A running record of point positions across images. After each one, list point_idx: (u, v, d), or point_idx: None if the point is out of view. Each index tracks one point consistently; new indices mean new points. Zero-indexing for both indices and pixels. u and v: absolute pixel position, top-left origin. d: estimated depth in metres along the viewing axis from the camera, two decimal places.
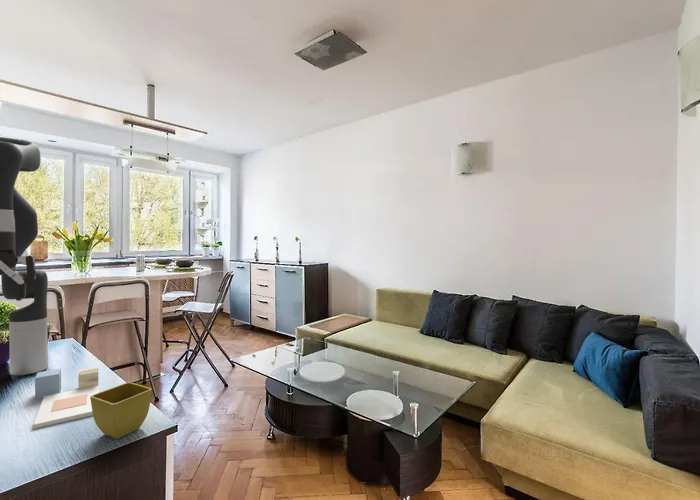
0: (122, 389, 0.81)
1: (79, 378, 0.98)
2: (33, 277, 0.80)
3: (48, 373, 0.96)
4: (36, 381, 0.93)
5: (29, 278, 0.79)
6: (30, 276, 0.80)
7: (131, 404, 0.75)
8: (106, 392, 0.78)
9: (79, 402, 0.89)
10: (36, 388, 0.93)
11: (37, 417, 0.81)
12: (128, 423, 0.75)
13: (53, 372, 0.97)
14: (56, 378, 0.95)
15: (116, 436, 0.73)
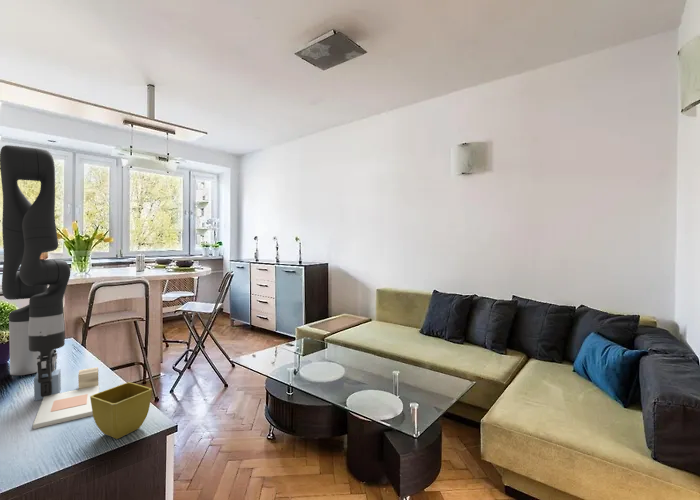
0: (122, 389, 0.81)
1: (79, 378, 0.98)
2: (55, 367, 1.01)
3: (47, 374, 0.95)
4: (35, 382, 0.92)
5: (55, 368, 1.00)
6: None
7: (131, 404, 0.75)
8: (106, 392, 0.78)
9: (79, 402, 0.89)
10: (35, 389, 0.92)
11: (37, 417, 0.81)
12: (128, 423, 0.75)
13: (52, 373, 0.96)
14: (56, 378, 0.94)
15: (116, 436, 0.73)
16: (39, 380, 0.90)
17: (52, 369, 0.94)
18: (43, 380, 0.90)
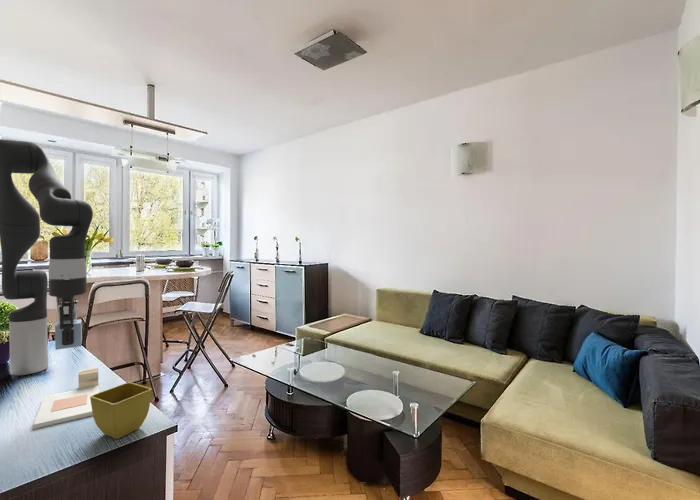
0: (122, 389, 0.81)
1: (79, 378, 0.98)
2: None
3: (69, 322, 0.88)
4: (56, 329, 0.85)
5: None
6: None
7: (131, 404, 0.75)
8: (106, 392, 0.78)
9: (79, 402, 0.89)
10: (56, 337, 0.85)
11: (37, 417, 0.81)
12: (128, 423, 0.75)
13: (74, 322, 0.89)
14: (78, 327, 0.88)
15: (116, 436, 0.73)
16: (61, 326, 0.83)
17: (74, 316, 0.87)
18: (65, 327, 0.84)
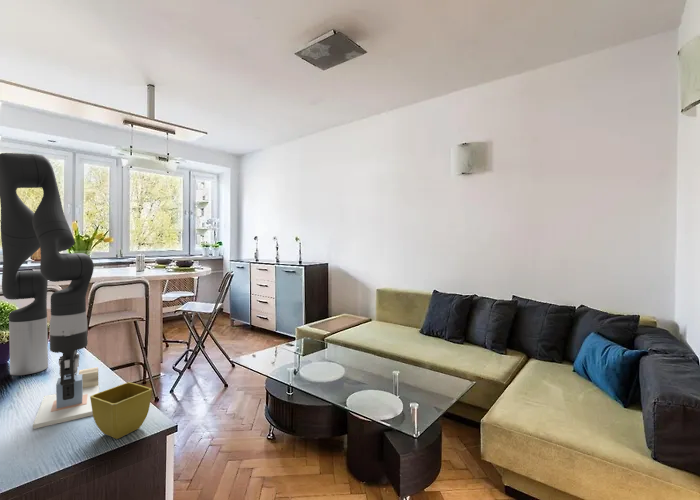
0: (122, 389, 0.81)
1: None
2: None
3: None
4: (57, 388, 0.85)
5: None
6: None
7: (131, 404, 0.75)
8: (106, 392, 0.78)
9: None
10: (57, 396, 0.85)
11: (37, 417, 0.81)
12: (128, 423, 0.75)
13: (75, 378, 0.89)
14: (79, 384, 0.88)
15: (116, 436, 0.73)
16: (61, 382, 0.82)
17: (75, 370, 0.86)
18: (66, 382, 0.83)
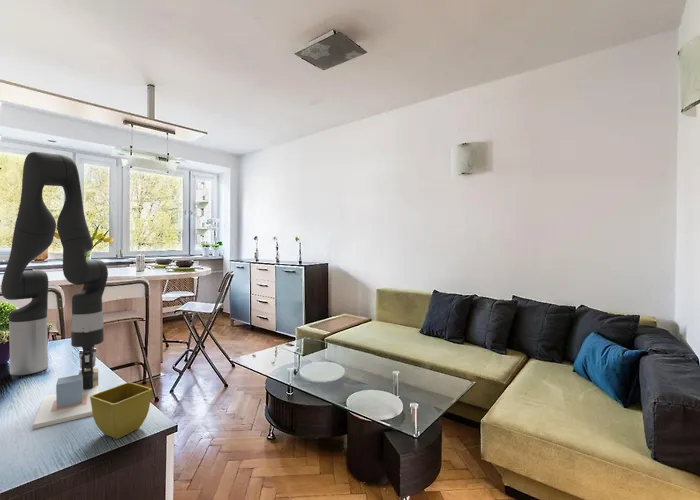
0: (122, 389, 0.81)
1: None
2: None
3: (70, 379, 0.88)
4: (57, 388, 0.85)
5: None
6: None
7: (131, 404, 0.75)
8: (106, 392, 0.78)
9: None
10: (57, 396, 0.85)
11: (37, 417, 0.81)
12: (128, 423, 0.75)
13: (75, 378, 0.89)
14: (79, 384, 0.88)
15: (116, 436, 0.73)
16: (82, 373, 0.94)
17: (93, 363, 0.98)
18: (86, 374, 0.95)
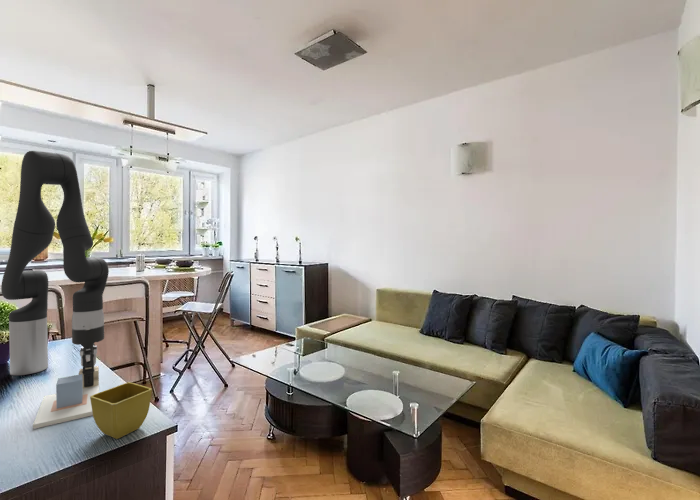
0: (122, 389, 0.81)
1: None
2: None
3: (70, 379, 0.88)
4: (57, 388, 0.85)
5: None
6: None
7: (131, 404, 0.75)
8: (106, 392, 0.78)
9: None
10: (57, 396, 0.85)
11: (37, 417, 0.81)
12: (128, 423, 0.75)
13: (75, 378, 0.89)
14: (79, 384, 0.88)
15: (116, 436, 0.73)
16: (83, 372, 0.96)
17: (94, 361, 0.99)
18: (87, 371, 0.96)
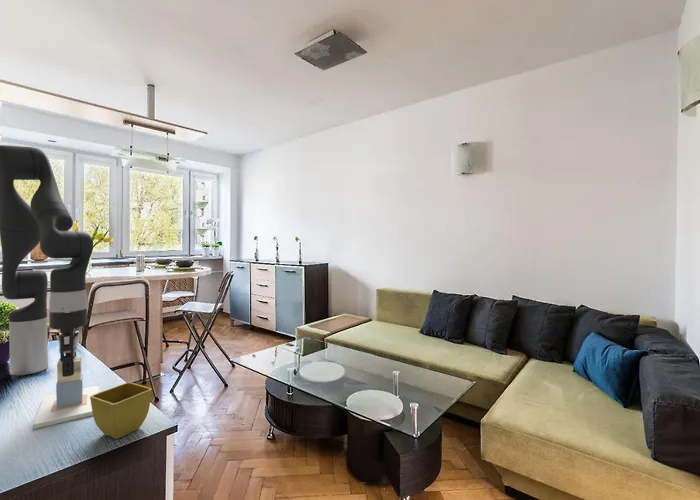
0: (122, 389, 0.81)
1: (58, 368, 0.86)
2: None
3: None
4: (57, 388, 0.85)
5: None
6: None
7: (131, 404, 0.75)
8: (106, 392, 0.78)
9: None
10: (57, 396, 0.85)
11: (37, 417, 0.81)
12: (128, 423, 0.75)
13: None
14: (79, 384, 0.88)
15: (116, 436, 0.73)
16: (61, 358, 0.82)
17: (74, 347, 0.86)
18: (65, 358, 0.83)
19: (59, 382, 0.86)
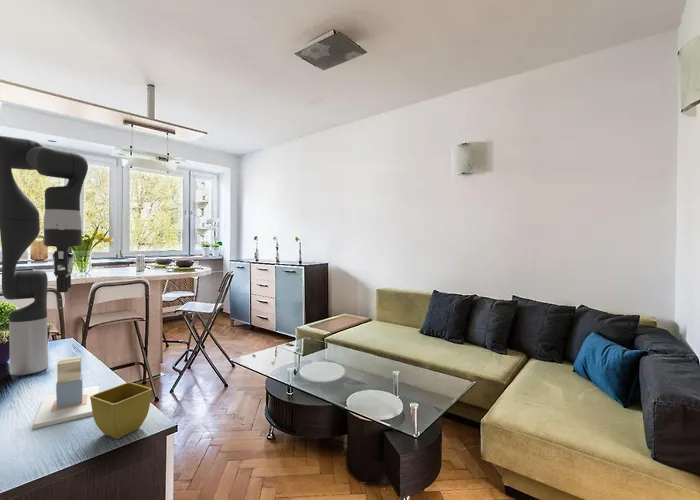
0: (122, 389, 0.81)
1: (58, 368, 0.86)
2: (71, 268, 0.96)
3: None
4: (57, 388, 0.85)
5: (71, 269, 0.95)
6: (71, 267, 0.95)
7: (131, 404, 0.75)
8: (106, 392, 0.78)
9: None
10: (57, 396, 0.85)
11: (37, 417, 0.81)
12: (128, 423, 0.75)
13: None
14: (79, 384, 0.88)
15: (116, 436, 0.73)
16: (55, 271, 0.83)
17: (69, 265, 0.87)
18: (59, 273, 0.83)
19: (59, 382, 0.86)
